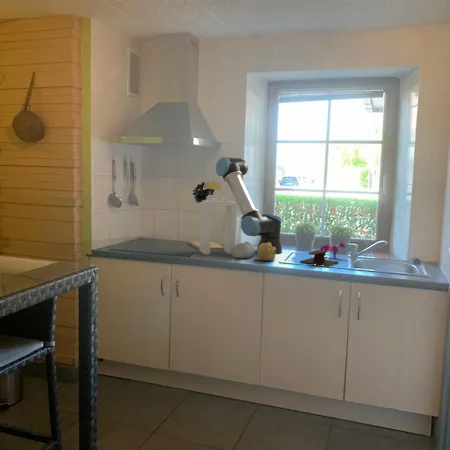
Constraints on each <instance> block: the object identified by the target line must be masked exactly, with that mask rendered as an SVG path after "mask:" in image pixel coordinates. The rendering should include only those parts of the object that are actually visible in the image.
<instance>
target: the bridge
mask: <svg viewBox="0 0 450 450" xmlns="http://www.w3.org/2000/svg"><path fill="white" fill-rule="evenodd" d="M213 206H224V207H225V220H224V221H225V222H224V223H225V225H224V238H223V239H224V241H223V243H224V244H223V247H224V250H223V252H225V253H226V254H229V255H233V254H232V253H231V251H232V250H233V248H234V247H235V246H236V244H235V243H236V224H237V206H238V204H237V202H236V201H232V200H230V201H229V199H227V198H220V200H219V199H218V198H214V197H211V199H210V200H207V199H206V200H202V207H201V211H200V212H201V213H200V214H201V216H200V236H199V237H200V238H199V241H200V250H199V252H200V253H202V254H203V255H210V254H211V253H210V252H211V250H210V241H211V230H212V229H211V227H212V226H211V225H212V207H213Z"/></svg>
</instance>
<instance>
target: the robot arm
mask: <svg viewBox="0 0 450 450" xmlns="http://www.w3.org/2000/svg"><path fill="white" fill-rule="evenodd" d="M242 159H243V158H238V157H227V156H226V157H225V156H224V157H221V158H219V159H218V160H217V162H216V166H215V173H216V174H217V176H218V177H219V176H222V177H223V179H224V181H225V182H227V183H228V186H229V188H230V191H231V192H232V195H233V197H234V199H235V202H237V206H238V208H239V210H240V213H241V218H240V219H241V221H240V229H241V231H242V233H243V234H245V236H249V237H258V236H259V237H260V240H259V241H258V245H257V248H256V251H257V252H258V246H259V245H260V244H262V243H267V242H270V243H271V244H272V246H273V247H275V248H276V251H275V255H276V254H282V253H283V247H282V243H281V240H280V239H281V228H282V227H281V225H282V217H281V215H278V214H271V213H264V212H263V213H261V211H260V210H259V209H256V207H255V205H254V202H253V201H252V199H251V196H250V194H249V192H248V189H247V187H246V186H245V184H244V181H243V179H242V178H241V176H242V175H245V174H246V175H247V173H248V171H249V166H248V165H249V164H248V163H247V161H245V160H244V159H243V160H242ZM242 161H243V162H242ZM246 175H245V176H246ZM214 180H215V178H212V180H211V182H215V181H214ZM207 182H208V179H207V178H205V179H204V181H202V182H201V183H198V184H196V185H197V187H196V188H195V190H193V195H195V196H194V201H195V202H196V203H200V202H202V200H206V201H207V198H208V197H207V196H208V195H213V193H214V191H215V190H213V189H205V190H203V187H205V186H206V184H207ZM199 189H200V190H199ZM198 190H199V191H198ZM206 197H207V198H206Z"/></svg>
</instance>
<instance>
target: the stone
mask: <svg viewBox="0 0 450 450" xmlns="http://www.w3.org/2000/svg"><path fill="white" fill-rule="evenodd" d="M257 247H258V251H257V254H256V256H257V257H256V258H257V260H258V261H263V262H264V261H265V262H267V261H274V260H276V259H275V258H276V254H275V251H276V248H275V247H273V246H272V244H271V243H270V242H267V243H262V244H260V245H259V246H258V245H257Z"/></svg>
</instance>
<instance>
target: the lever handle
mask: <svg viewBox="0 0 450 450" xmlns="http://www.w3.org/2000/svg"><path fill="white" fill-rule="evenodd" d="M307 254H308V255H313V257H309V258H307V259H303V260H300V261H299V263H301V264H304V263H305V265H310V264H316V265H315V266H317V265H324V266H330V265H333V264H336V263H338V264H339V263H340V262H339V261H337V260H331V259H330V260H329V259H326V257H324V256H326V253H325V251H324V250H323V251H321V250H320V249H319V250H318V249H317V250H313V251H310V252H308V253H307ZM336 265H337V264H336ZM333 266H334V265H333ZM330 267H331V266H330Z"/></svg>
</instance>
